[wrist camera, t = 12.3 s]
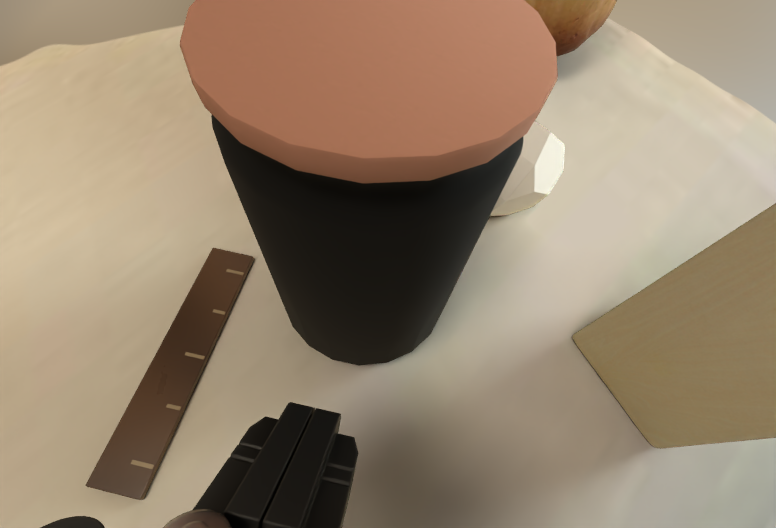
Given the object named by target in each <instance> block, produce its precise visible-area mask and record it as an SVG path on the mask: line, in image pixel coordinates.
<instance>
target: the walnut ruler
mask: <svg viewBox="0 0 776 528" xmlns="http://www.w3.org/2000/svg"><path fill="white" fill-rule="evenodd" d="M253 261H254V258H253V257H252V256H248V255H244V254H239V253H234V252H230V251H225V250H221V249H216V248H213V249H212V251H211V252H210V254H209V256H208V258H207V260H206V262H205V264H204V265H203V267H202V269H201V271H200V273H199V275H198V277H197V278H196V280H195V282H194V284H193V286H192V288H191V290H190V292H189V293H188V295H187V297H186V299H185V301H184V303H183V305H182V306H181V308H180V310H179V312H178V314H177V316H176V318H175V320H174V321H173V323H172V325H171V327H170V329H169V331H168V333H167V334H166V336H165V338H164V340H163V342H162V344H161V346H160V348H159V349H158V351H157V353H156V355H155V357H154V359H153V361H152V362H151V364H150V366H149V368H148V370H147V372H146V374H145V375H144V377H143V379H142V381H141V383H140V385H139V387H138V389H137V390H136V392H135V394H134V396H133V398H132V400H131V402H130V403H129V405H128V407H127V409H126V411H125V413H124V415H123V417H122V418H121V420H120V422H119V424H118V426H117V428H116V430H115V431H114V433H113V435H112V437H111V439H110V441H109V443H108V445H107V446H106V448H105V450H104V452H103V454H102V456H101V458H100V459H99V461H98V463H97V465H96V467H95V469H94V471H93V473H92V474H91V476H90V478H89V480H88V482H87V484H86V486H87V487H91V488H95V489H99V490H103V491H107V492H111V493H115V494H118V495H122V496H126V497H130V498H134V499H138V500H143V499H144V497H145V495H146V493H147V491H148V489H149V486H150V484H151V482H152V480H153V478H154V476H155V473H156V471H157V469H158V467H159V465H160V463H161V460H162V458H163V456H164V454H165V452H166V450H167V447H168V445H169V443H170V441H171V439H172V437H173V434H174V432H175V430H176V428H177V426H178V424H179V421H180V419H181V417H182V415H183V413H184V411H185V408H186V406H187V404H188V402H189V400H190V397H191V395H192V393H193V391H194V389H195V387H196V384H197V382H198V380H199V378H200V376H201V374H202V371H203V369H204V367H205V365H206V363H207V361H208V358H209V356H210V354H211V352H212V350H213V348H214V345H215V343H216V341H217V339H218V337H219V335H220V332H221V330H222V328H223V326H224V324H225V322H226V319H227V317H228V315H229V313H230V311H231V308H232V306H233V304H234V302H235V300H236V298H237V295H238V293H239V291H240V289H241V287H242V285H243V282H244V280H245V278H246V276H247V274H248V272H249V269H250V267H251V265H252V263H253Z"/></svg>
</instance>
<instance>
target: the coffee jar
mask: <svg viewBox="0 0 776 528" xmlns="http://www.w3.org/2000/svg"><path fill="white" fill-rule="evenodd" d="M180 47H181V50H182V53H183V56H184V59H185V62H186V65H187V68H188V71H189V74H190V77H191V80H192V83H193V85H194V87H195V89H196V91H197V93H198V95H199V97H200V99H201V101H202V103H203V104H204V106H205V108H206V109H207V110H208V111H209V112H210V113H211V114H212V125H213V130H214V133H215V136H216V138H217V141H218V144H219V147H220V150H221V153H222V156H223V159H224V162H225V164H226V167H227V169H228V172H229V174H230V176H231V179H232V181H233V184H234V186H235V188H236V191H237V193H238V196H239V198H240V201H241V203H242V205H243V208H244V210H245V213H246V215H247V217H248V220H249V222H250V225H251V227H252V229H253V232H254V234H255V237H256V239H257V241H258V244H259V246H260V249H261V251H262V253H263V256H264V258H265V261H266V263H267V266H268V268H269V270H270V273H271V275H272V278H273V280H274V282H275V285H276V287H277V290H278V292H279V294H280V297H281V299H282V302H283V304H284V306H285V309H286V311H287V314H288V316H289V319H290V321H291V323H292V326H293V327H294V328H295V330H296V331H297V332H298V333H299V334H300V335H301V337H302V338H303V339H304V340H305V341H306V343H307V344H308V345H309V346H310V347H312V348H314V349H315V350H317V351H319V352H321V353H322V354H324V355H326V356H327V357H329V358H331V359H333V360H337V361H342V362H347V363H351V364H356V365H367V364H377V363H386V362H389V361H391V360H394V359H396V358H398V357H400V356H403V355H405V354H407V353H409V352H412V351H413V350H414V349H415V348H416V347H417V346H418V345H419V344H420V343H421V342H422V341H423V340H425V339H426V338H427V337H428V336H429V335H430V334H431V332H432V330H433V328H434V326H435V324H436V322H437V320H438V318H439V316H440V315H441V313H442V311H443V309H444V307H445V305H446V303H447V301H448V299H449V297H450V295H451V293H452V291H453V289H454V287H455V285H456V283H457V281H458V279H459V277H460V275H461V273H462V271H463V269H464V267H465V265H466V263H467V261H468V259H469V257H470V255H471V253H472V251H473V249H474V247H475V245H476V243H477V241H478V239H479V237H480V234H481V232H482V230H483V228H484V226H485V224H486V222H487V220H488V218H489V216H490V214H491V212H492V210H493V208H494V206H495V204H496V202H497V200H498V198H499V196H500V194H501V192H502V190H503V188H504V186H505V184H506V182H507V180H508V178H509V176H510V174H511V172H512V170H513V168H514V166H515V164H516V162H517V160H518V158H519V156H520V154H521V152H522V147H523V136H524V135H526V134H527V132H528V131H529V129H530V127H531V126H532V124H533V123H534V121H535V119H536V118H537V116H538V114H539V113H540V111H541V109H542V107H543V105H544V103H545V101H546V100H547V98H548V96H549V94H550V92H551V90H552V88H553V87H554V85H555V83H556V81H557V76H558V75H557V58H556V42H555V40H554V39H553V37H552V35H551V34H550V32H549V30H548V28H547V27H546V25H545V23H544V22H543V20H542V18H541V16H540V15H539V13H538V12H537V11H536V10H535V9H534V8H533V7H532V6H530V5H529V4H528V3H527V2H526V1H525V0H196V1H195V2H194V3H193V4H192V5H191V6H190V7H189V9H188V13H187V17H186V21H185V24H184V28H183V32H182V36H181V40H180Z"/></svg>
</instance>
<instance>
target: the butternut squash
mask: <svg viewBox="0 0 776 528" xmlns="http://www.w3.org/2000/svg"><path fill="white" fill-rule="evenodd" d="M525 1H526V2H527V3H528V4H529V5H530V6H532V7H533V8H534V9H535V10H536V11H537V12H538V13H539V15H540V16H541V18H542V20H543V22H544V23H545V25H546V27H547V28H548V30H549V32H550V34H551V35H552V37H553V39H554V40H555V42H556V56H560V55H563V54H566V53H569V52H571V51H574V50H575V49H576V48H578V47H579V46H580V45H581V44H582V43H583V42H584V41H585V40H587V39H588V38H589V37H590V36H591V35H592V34H594V33H595V32H596V31H597V30H598V29H599V28H600V27H601V26H602V25H603V24H604V22H605V21H606V19H607V18H608V16H609V15H610V13H611V11H612V9H613V7H614V5H615V3H616V1H617V0H525Z"/></svg>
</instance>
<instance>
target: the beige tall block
mask: <svg viewBox="0 0 776 528" xmlns="http://www.w3.org/2000/svg"><path fill="white" fill-rule="evenodd" d="M573 340H574V342H575V343H576V345H577V346H578V348H579V349H580V350H581V352H582V353H583V355H584V356H585V357H586V359H587V360H588V361H589V363H590V364H591V365H592V367H593V368H594V369H595V371H596V372H597V373H598V375H599V376H600V377H601V379H602V380H603V382H604V383H605V384H606V386H607V387H608V388H609V390H610V391H611V392H612V394H613V395H614V396H615V398H616V399H617V400H618V402H619V403H620V404H621V406H622V407H623V408H624V410H625V411H626V413H627V414H628V415H629V417H630V418H631V420H632V421H633V422H634V424H635V425H636V426H637V428H638V429H639V430H640V432H641V433H642V434H643V436H644V437H645V438H646V440H647V441H648V442H649V443H650V444H651V445H652V446H653V447H656V448H671V447H682V446H692V445H701V444H713V443H723V442H734V441H745V440H755V439H766V438H776V203H775V204H774V205H772V206H771V207H769V208H768V209H766V210H765V211H763V212H761V213H760V214H758V215H757V216H755V217H754V218H752V219H751V220H749V221H748V222H746V223H745V224H743V225H741V226H740V227H738V228H737V229H735V230H734V231H732V232H731V233H729V234H728V235H726V236H724V237H723V238H721V239H720V240H718V241H717V242H715V243H714V244H712V245H711V246H709V247H708V248H706V249H704V250H703V251H701V252H700V253H698V254H697V255H695V256H694V257H692V258H691V259H689V260H688V261H686V262H684V263H683V264H681V265H680V266H678V267H677V268H675V269H674V270H672V271H671V272H669V273H667V274H666V275H664V276H663V277H661V278H660V279H658V280H657V281H655V282H654V283H652V284H651V285H649V286H648V287H646V288H644V289H643V290H641V291H640V292H638V293H637V294H635V295H634V296H632V297H631V298H629V299H627V300H626V301H624V302H623V303H621V304H620V305H618V306H617V307H615V308H614V309H612V310H610V311H609V312H607V313H606V314H604V315H603V316H601V317H600V318H598V319H597V320H595V321H594V322H592V323H590V324H589V325H587V326H586V327H584V328H583V329H581V330H580V331H578V332H577V333H575V334H574V335H573Z"/></svg>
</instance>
